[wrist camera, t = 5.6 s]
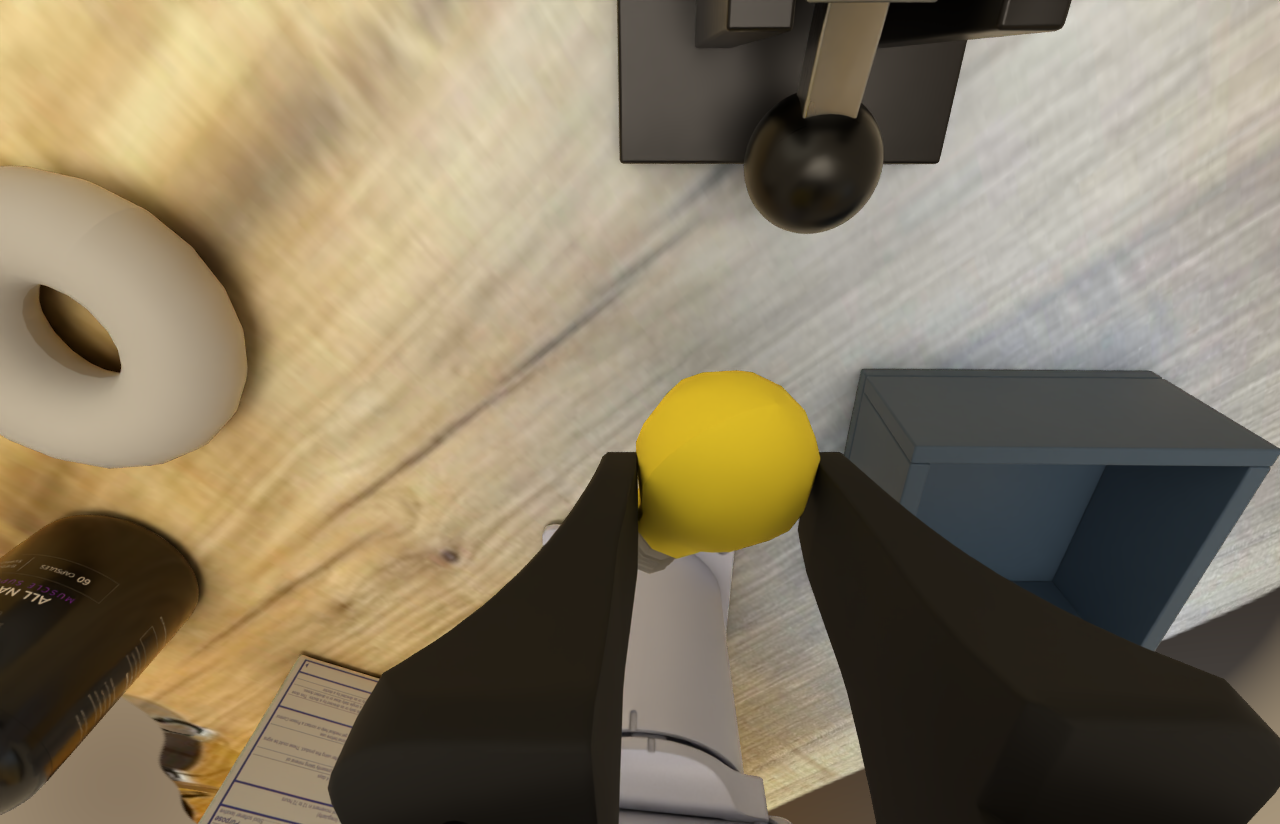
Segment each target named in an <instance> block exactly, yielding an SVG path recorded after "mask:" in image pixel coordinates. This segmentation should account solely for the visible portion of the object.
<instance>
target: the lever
mask: <svg viewBox="0 0 1280 824" xmlns="http://www.w3.org/2000/svg"><path fill="white" fill-rule="evenodd" d="M806 1H808V2H809V3H815V7H814V11H813V16H812V21H811V26H810V31H809V36H808V41H807V46H806V51H805V56H804V61H803V66H802V71H801V75H800V80H799V85H798V90H797V93H795V94H793V95H790V96H788V97H786V98H785V99H783V100H781V101H780V102H779V103H777V104H776V105H775V106H773V107H772V108H771V109H770V110H769V111H768V112H767V113H766V114H765V115H764V117H763V118H762V119H761V120H760V122H759V123H758V125H757V126H756V128H755V130H754V132H753V133H752V135H751V138H750V140H749V143H748V146H747V150H746V154H745V159H744V177H745V183H746V187H747V191H748V194H749V196H750V199H751V201H752V202H753V204H754V206H755V207H756V209H757V210H758V211H759V212H760V214H761V215H762V216H763V217H764V218H765V219H767V220H768V221H769V222H771V223H772V224H774V225H775V226H777V227H779V228H781V229H783V230H786V231H790V232H794V233H800V234H813V233H819V232H824V231H827V230H830V229H833V228H835V227H837V226H839V225H841V224H843V223H845V222H846V221H848V220H849V219H851V218H852V217H853V216H854V215H855V214H857V213H858V212H859V211H860V210H861V208H862V207H863V206H864V205H865V204H866V203H867V201H868V200H869V199H870V197H871V195H872V194H873V192H874V190H875V188H876V186H877V184H878V181H879V179H880V175H881V172H882V167H883V160H884V150H883V140H882V136H881V132H880V129H879V126H878V124H877V122H876V120H875V119H874V117H873V115H872V114H871V112H870V111H869V110H868V109H867V108H866V107H865V106H864V105H863V104H862V103H861V101H862V98H863V94H864V91H865V88H866V84H867V81H868V77H869V74H870V71H871V67H872V64H873V60H874V57H875V54H876V50H877V47H878V43H879V40H880V37H881V33H882V30H883V26H884V23H885V19H886V16H887V13H888V9H889V6H890V2H936V1H938V0H806Z"/></svg>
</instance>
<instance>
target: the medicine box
mask: <svg viewBox="0 0 1280 824" xmlns="http://www.w3.org/2000/svg"><path fill="white" fill-rule="evenodd" d="M378 681H379V678H376V677H372V676H369V675H366V674H363V673H359V672H356V671H353V670H349V669H346V668H343V667H339V666H336V665H333V664H329V663H326V662H323V661H320V660H316V659H313V658H310V657H307V656H305V655H300V656H299V657H298V659H297V660H296V662H295V664H294V665H293V667H292V669H291V670H290V672H289V674H288V675H287V677H286V679H285V681H284V682H283V684H282V686H281V687H280V689H279V691H278V693H277V694H276V696H275V698H274V699H273V701H272V703H271V704H270V706H269V708H268V709H267V711H266V713H265V714H264V716H263V718H262V719H261V721H260V723H259V724H258V726H257V728H256V730H255V731H254V733H253V735H252V736H251V738H250V739H249V741H248V743H247V744H246V746H245V747H244V749H243V750H242V752H241V754H240V755H239V757H238V759H237V760H236V762H235V764H234V765H233V767H232V769H231V771H230V772H229V774H228V776H227V777H226V779H225V781H224V782H223V784H222V786H221V787H220V789H219V790H218V792H217V794H216V795H215V797H214V799H213V800H212V802H211V803H210V805H209V807H208V808H207V810H206V812H205V813H204V815H203V817H202V818H201V820H200V821H199V823H198V824H341V822H340V820H339V818H338V816H337V814H336V812H335V810H334V808H333V806H332V804H331V800H330V796H329V792H328V784H329V780H330V776H331V772H332V770H333V768H334V766H335V764H336V761H337V759H338V757H339V755H340V753H341V751H342V748H343V746H344V744H345V742H346V740H347V737H348V735H349V733H350V731H351V729H352V727H353V724H354V722H355V720H356V718H357V716H358V714H359V713H360V711H361V709H362V707H363V706H364V704H365V702H366V700H367V699H368V697H369V696H370V694H371V693H372V691H373V689H374V688H375V686H376V684H377V682H378Z"/></svg>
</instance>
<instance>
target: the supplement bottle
mask: <svg viewBox="0 0 1280 824" xmlns="http://www.w3.org/2000/svg"><path fill="white" fill-rule="evenodd" d="M198 594H199V591H198V583H197V579H196V576H195V574H194V572H193V570H192V568H191V566H190V565H189V563H188V562H187V560H186V559H185V558H184V557H183V556H182V554H181V553H180V552H179V551H178V550H177V549H175V548H174V547H173V546H172V545H171V544H170V543H168V542H167V541H166V540H164V539H163V538H161V537H160V536H158V535H157V534H155V533H153V532H152V531H150V530H148V529H146V528H144V527H142V526H139V525H137V524H135V523H132V522H129V521H126V520H123V519H119V518H115V517H110V516H104V515H91V514H89V515H75V516H69V517H65V518H62V519H59V520H56V521H54V522H52V523H50V524H48V525H46V526H45V527H43V528H42V529H40V530H39V531H37V532H36V533H35V534H33V535H32V536H30V537H29V538H28V539H26V540H25V541H23V542H22V543H20V544H19V545H18V546H16V547H15V548H13V549H12V550H11V551H9V552H8V553H7V554H5V555H4V556H3V557H1V558H0V815H2V814H4V813H6V812H8V811H10V810H12V809H14V808H16V807H17V806H19V805H21V804H22V803H24V802H25V801H27V800H28V799H30V798H31V797H32V796H33V795H34V794H35V793H36V792H37V791H38V790H39V789H40V788H41V787H42V786H43V785H44V784H45V783H46V782H47V781H48V780H49V779H50V777H51V776H52V775H53V774H54V773H55V772H56V771H57V769H59V767H60V766H61V765H62V764H63V763H64V762H65V760H66V759H67V758H68V757H69V756H70V755H71V753H72V752H73V751H74V750H75V749H76V748H77V747H78V746H79V744H80V743H81V742H82V741H83V740H84V739H85V738H86V736H87V735H88V734H89V733H90V732H91V731H92V729H93V728H94V727H95V726H96V725H97V724H98V723H99V721H100V720H101V719H102V718H103V717H104V716H105V715H106V713H107V712H108V711H109V710H110V709H111V708H112V707H113V705H114V704H115V703H116V702H117V701H118V700H119V698H120V697H121V696H122V695H123V694H124V693H125V692H126V690H127V689H128V688H129V687H130V686H131V685H132V684H133V682H134V681H135V680H136V679H137V678H138V677H139V675H140V674H141V673H142V672H143V671H144V670H145V669H146V667H147V666H148V665H149V664H150V663H151V662H152V661H153V659H154V658H155V657H156V656H157V655H158V654H159V653H160V651H161V650H162V649H163V648H164V647H165V646H166V644H167V643H168V642H169V641H170V640H171V639H172V638H173V636H174V635H175V634H176V633H177V631H178V630H179V629H180V628H181V627H182V626H183V624H184V623H185V622H186V621H187V620H188V618H189V617H190V616H191V614H192V613H193V611H194V609H195V607H196V605H197V601H198Z"/></svg>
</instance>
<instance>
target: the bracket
mask: <svg viewBox="0 0 1280 824" xmlns="http://www.w3.org/2000/svg"><path fill="white" fill-rule="evenodd" d="M1070 4H1071V0H938V1H936V2H890V6H889V9H888V13H887V16H886V19H885V23H884V26H883V30H882V33H881V37H880V40H879V43H878V47H877V50H876V54H875V57H874V60H873V64H872V67H871V71H870V74H869V77H868V81H867V84H866V88H865V91H864V94H863V98H862V101H861V103H862V104H863V105H864V106H865V107H866V108H867V109H868V110H869V111H870V112H871V114H872V115H873V117H874V119H875V120H876V122H877V124H878V126H879V129H880V132H881V136H882V140H883V150H884V160H883V164H936V163H938V162H939V160H940V156H941V152H942V147H943V143H944V139H945V134H946V130H947V126H948V121H949V117H950V112H951V108H952V104H953V99H954V95H955V91H956V86H957V82H958V78H959V73H960V69H961V65H962V60H963V56H964V52H965V47H966V43H967V40H970V39H980V38H991V37H1001V36H1011V35H1021V34H1031V33H1041V32H1051V31H1057V30H1059V29H1061V28H1062V27H1063V25H1064V24H1065V21H1066V17H1067V14H1068V10H1069V7H1070ZM814 7H815V3H809V2H808V1H806V0H617V24H618V85H619V146H620V162H621V163H623V164H744V159H745V154H746V150H747V146H748V143H749V140H750V138H751V135H752V133H753V132H754V130H755V128H756V126H757V125H758V123H759V122H760V120H761V119H762V118H763V117H764V115H765V114H766V113H767V112H768V111H769V110H770V109H771V108H772V107H773V106H775V105H776V104H777V103H779V102H780V101H781V100H783V99H785V98H786V97H788V96H790V95H793V94H795V93H797V90H798V85H799V80H800V75H801V71H802V66H803V61H804V56H805V51H806V46H807V41H808V36H809V31H810V26H811V21H812V16H813V11H814Z"/></svg>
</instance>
